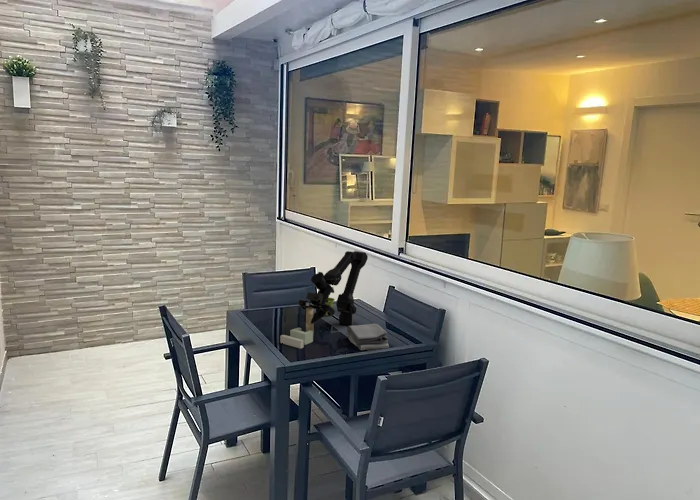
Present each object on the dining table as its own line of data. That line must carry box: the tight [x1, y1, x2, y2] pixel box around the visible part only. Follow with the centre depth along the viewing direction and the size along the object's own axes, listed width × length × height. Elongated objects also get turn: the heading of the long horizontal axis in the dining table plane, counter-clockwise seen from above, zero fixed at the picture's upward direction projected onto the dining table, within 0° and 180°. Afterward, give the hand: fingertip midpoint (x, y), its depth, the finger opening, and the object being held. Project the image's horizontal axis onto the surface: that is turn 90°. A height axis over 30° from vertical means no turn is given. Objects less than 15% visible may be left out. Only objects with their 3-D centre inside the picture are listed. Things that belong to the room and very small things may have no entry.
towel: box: [346, 323, 390, 351], centre depth 232 cm, size 15×18×8 cm
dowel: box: [305, 308, 315, 337], centre depth 236 cm, size 4×4×13 cm
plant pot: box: [325, 297, 336, 317], centre depth 277 cm, size 9×9×9 cm
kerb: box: [279, 334, 305, 350], centre depth 227 cm, size 2×12×4 cm, turn 55°
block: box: [289, 327, 314, 346], centre depth 232 cm, size 6×9×5 cm, turn 55°
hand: (308, 322), depth 235 cm, fingers closed on dowel, 4 cm apart
